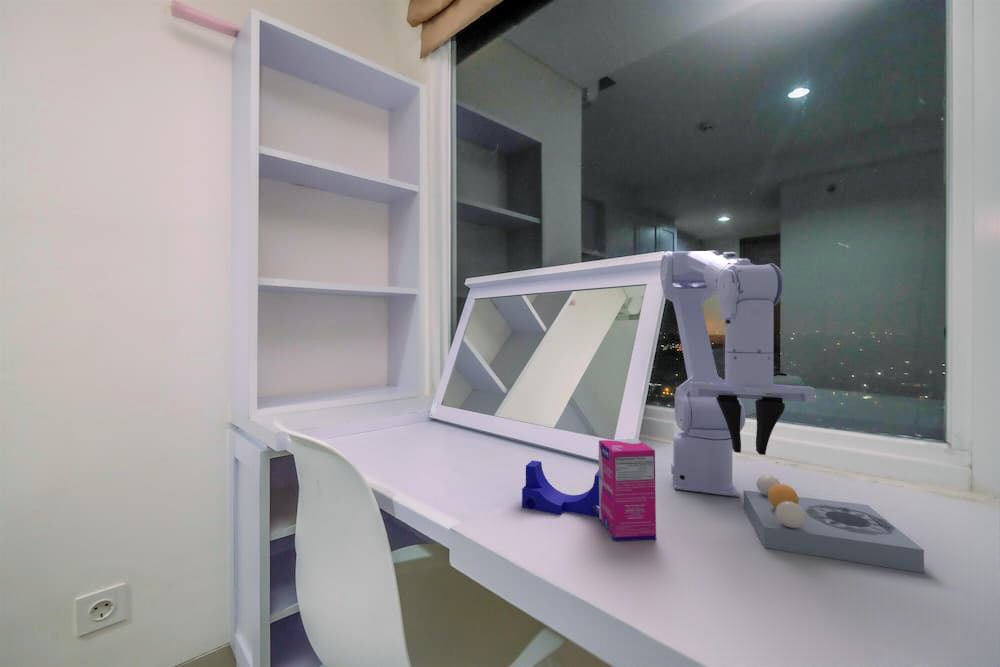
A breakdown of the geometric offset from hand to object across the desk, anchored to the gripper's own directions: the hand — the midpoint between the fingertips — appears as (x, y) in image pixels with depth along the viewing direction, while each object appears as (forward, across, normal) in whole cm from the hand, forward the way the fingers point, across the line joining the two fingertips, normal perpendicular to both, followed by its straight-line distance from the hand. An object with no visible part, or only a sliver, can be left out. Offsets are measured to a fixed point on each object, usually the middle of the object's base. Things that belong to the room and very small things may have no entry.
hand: (748, 451), depth 57 cm
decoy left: (+6, +4, +5) cm, 9 cm away
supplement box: (+10, -16, -8) cm, 20 cm away
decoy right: (+6, +4, -5) cm, 9 cm away
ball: (+6, +4, 0) cm, 7 cm away
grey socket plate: (+10, +8, 0) cm, 13 cm away
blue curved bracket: (+10, -24, -4) cm, 27 cm away
